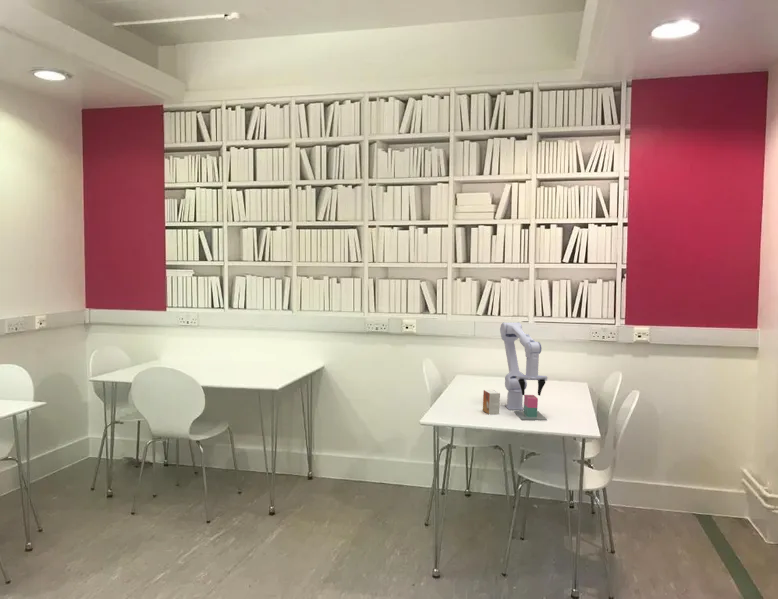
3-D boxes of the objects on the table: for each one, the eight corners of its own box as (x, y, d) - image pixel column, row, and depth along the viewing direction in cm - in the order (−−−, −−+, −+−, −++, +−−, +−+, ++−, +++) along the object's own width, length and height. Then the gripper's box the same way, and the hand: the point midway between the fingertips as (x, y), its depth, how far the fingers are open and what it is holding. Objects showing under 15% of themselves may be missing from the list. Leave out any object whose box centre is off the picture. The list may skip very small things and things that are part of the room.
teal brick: (523, 412, 306) (524, 403, 305) (533, 413, 306) (533, 404, 305) (527, 416, 298) (527, 407, 297) (537, 417, 298) (537, 407, 297)
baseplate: (514, 412, 310) (514, 410, 310) (538, 412, 310) (538, 411, 310) (521, 420, 294) (521, 418, 294) (547, 420, 294) (547, 419, 294)
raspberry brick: (524, 403, 305) (524, 394, 305) (533, 404, 305) (533, 394, 305) (527, 407, 297) (528, 398, 297) (537, 407, 297) (537, 398, 297)
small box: (482, 410, 311) (483, 389, 310) (493, 410, 312) (493, 389, 311) (488, 414, 303) (489, 393, 302) (499, 414, 304) (500, 392, 304)
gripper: (518, 368, 296) (517, 396, 297) (549, 368, 296) (548, 397, 297) (515, 365, 303) (514, 393, 304) (545, 366, 303) (544, 393, 304)
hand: (531, 394), depth 301 cm, fingers open, 7 cm apart
